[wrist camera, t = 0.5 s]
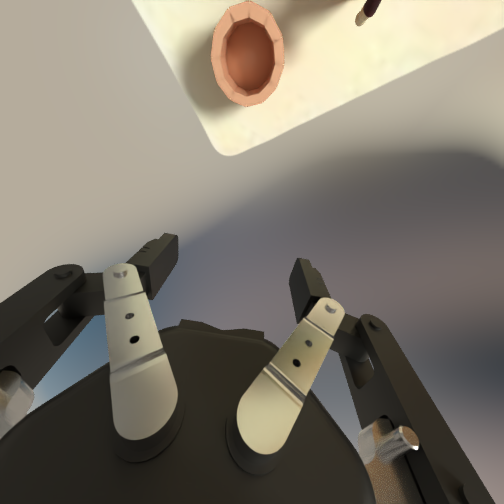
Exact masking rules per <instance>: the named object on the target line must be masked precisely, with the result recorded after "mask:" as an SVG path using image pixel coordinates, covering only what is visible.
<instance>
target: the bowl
mask: <svg viewBox="0 0 504 504" xmlns="http://www.w3.org/2000/svg"><path fill="white" fill-rule="evenodd" d="M269 12H270V11H268V10H267V9H265V8H263V7H261V6H259V5H258V4H256V3H254V2H252V1H250V2H249V1H246V2H243V3H240V4H237V5H234V6H231V7H229V9H227V10H226V12H225V13H224V15H223V16H222V18H221V20H220V21H219V23H218V24H217V26H216V27H215V31H214V34H213V42H212V50H211V57H212V58H211V62H212V66H213V70H214V74H215V78H216V82H218V83H217V84H218V85H219V86H220V88H221V89H222V90H223V92H224V93H225V94H226V96H227V97H228V98H229V100H230V98H231V101H233V102H235V103H238V104H240V105H243V106H245V107H246V106H247V107H248V106H252V105H257V104H261V103H262V101H263V102H264V101H265V100H266V99H267V98H268V97H269V96H270V95H271V94H272V93H273V92H274V91H275V89H276V87H277V86H278V83H279V80H280V77H281V74H282V71H283V67H284V65H283V64H284V47H283V38H281V37H282V36H283V35H282V34H281V32H280V30H279V28H278V26H277V24H276V22H275V20H274V18H273V16H272V14H271V13H270V14H269Z"/></svg>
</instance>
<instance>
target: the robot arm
mask: <svg viewBox="0 0 504 504" xmlns="http://www.w3.org/2000/svg"><path fill="white" fill-rule="evenodd" d="M177 261H178V236H177V235H173V234H168V233H164V234H163V235H162V236H161V237H160V238H159V239H154V240H151V241H149V242H147V243H146V244H145V245H144V246H143V248H141V249H140V250H139V251H138V252H137V253H136V254H135V255H134V256H133V257H131V258H130V259H129V260H128V261H127V262H126V263H121V264H116V265H112V266H110V267H108V268H107V269H106V270H105V271H104V272H103V273H84V270H83V268H82V267H81V266H79V265H75V264H67V265H61V266H57V267H54V268H52V269H49V270H48V271H46V272H45V273H43V274H42V275H40V276H39V277H38V278H36V279H35V280H33V281H32V282H30V283H29V284H27V285H26V286H24V287H23V288H22V289H20V290H19V291H17V292H16V293H14V294H13V295H12V296H10V297H9V298H7V299H6V300H5V301H3V302H1V303H0V504H495V502H494V500H493V499H492V497H491V496H490V494H489V492H488V491H487V489H486V487H485V486H484V484H483V482H482V481H481V479H480V478H479V476H478V474H477V473H476V471H475V469H474V468H473V466H472V464H471V463H470V461H469V459H468V458H467V456H466V455H465V453H464V451H463V450H462V448H461V447H460V445H459V443H458V441H457V440H456V438H455V437H454V435H453V434H452V432H451V430H450V429H449V427H448V425H447V423H446V422H445V420H444V419H443V417H442V415H441V414H440V412H439V410H438V409H437V407H436V405H435V404H434V402H433V401H432V399H431V397H430V396H429V394H428V392H427V391H426V389H425V388H424V386H423V384H422V382H421V381H420V379H419V378H418V376H417V374H416V373H415V371H414V370H413V368H412V366H411V364H410V363H409V361H408V360H407V358H406V356H405V355H404V353H403V352H402V350H401V348H400V346H399V345H398V343H397V341H396V340H395V338H394V337H393V335H392V333H391V332H390V330H389V328H388V327H387V326H386V324H385V323H384V322H383V321H381V320H380V319H379V318H377V317H375V316H373V315H370V314H364V315H362V316H361V317H360V319H358V318H355V317H353V316H351V315H348V314H346V313H345V312H344V309H343V307H342V306H341V305H340V304H339V303H338V302H336V301H335V300H333V299H331V297H330V294H329V292H328V290H327V288H326V285H325V283H324V281H323V279H322V276H321V274H320V273H319V272H318V271H317V270H316V269H315V268H312V266H311V263H310V261H309V260H307V259H302V258H297V260H296V262H295V264H294V267H293V270H292V272H291V275H290V278H289V286H290V291H291V296H292V301H293V306H294V311H295V316H296V321H297V324H299V325H298V326H297V328H296V329H295V330H294V331H293V333H292V334H291V335H290V337H289V338H288V339H287V341H286V342H285V343H284V344H283V346H282V347H281V348H280V349H279V348H278V347H277V346H276V345H275V344H273V343H272V342H270V341H268V340H266V339H264V332H262V331H256V330H249V329H234V330H220V329H217V328H215V327H213V326H210V325H208V324H205V323H203V322H198V321H190V320H184V319H181V321H180V324H179V326H172V327H168V328H164V329H162V330H159V331H158V330H157V327H156V324H155V321H154V318H153V315H152V312H151V308H150V305H149V302H148V299H149V300H153V299H154V297H155V296H156V294H157V293H158V291H159V290H160V288H161V287H162V285H163V283H164V282H165V281H166V279H167V277H168V276H169V274H170V273H171V271H172V270H173V268H174V267H175V265H176V263H177ZM56 309H58V311H57V312H56V313H55V314H54V315H52V316H51V318H50V319H48V320H47V321H46V322H45V320H46V318H47V317H48V316H49V315H50V314H51V313H52V312H53V311H54V310H56ZM95 315H105V320H106V331H107V341H108V351H109V362H108V363H106V364H105V365H103V366H102V367H100V368H99V369H97V370H95V371H94V372H93V373H91V374H89V375H88V376H86V377H84V378H83V379H81V380H80V381H78V382H77V383H75V384H74V385H72V386H70V387H69V388H67V389H66V390H64V391H63V392H61V393H60V394H58V395H56V396H55V397H53V398H52V399H50V400H49V401H47V402H45V403H44V404H42V405H41V406H40V407H38V408H36V409H35V410H33V411H32V412H30V413H29V414H27V411H28V410H29V408H30V407H31V405H32V403H33V400H34V392H33V389H34V388H35V387H36V385H37V384H38V383H39V382H40V381H41V379H42V378H43V377H44V376H45V374H46V373H47V372H48V371H49V370H50V369H51V367H52V366H53V365H54V364H55V363H56V361H57V360H58V359H59V358H60V357H61V355H62V354H63V353H64V352H65V351H66V349H67V348H68V347H69V346H70V345H71V343H72V342H73V341H74V340H75V338H76V337H77V336H78V335H79V334H80V332H81V331H82V330H83V329H84V328H85V326H86V325H87V324H88V323H89V322H90V320H91V319H92V318H93V317H94V316H95ZM44 322H45V323H44ZM329 349H331V350H333V351H336V352H338V353H339V356H340V359H341V363H342V366H343V369H344V373H345V376H346V379H347V382H348V386H349V389H350V392H351V395H352V399H353V402H354V405H355V408H356V412H357V415H358V418H359V421H360V425H361V428H362V431H361V432H360V433H359V436H358V446H359V454H358V452H357V451H356V449H355V448H354V446H353V445H352V443H351V442H350V441H349V439H348V438H347V437H346V435H345V434H344V433H343V431H342V430H341V429H340V427H339V426H338V425H337V424H336V422H335V421H334V419H333V418H332V417H331V415H330V414H329V413H328V411H327V410H326V409H325V407H324V406H323V405H322V404H321V402H320V401H319V399H318V398H317V397H316V395H315V394H314V393H313V391H312V390H311V389H310V387H311V385H312V383H313V381H314V379H315V377H316V375H317V373H318V371H319V369H320V366H321V365H322V363H323V360H324V358H325V356H326V354H327V352H328V350H329ZM369 357H370V359H371V362H372V364H373V367H374V370H373V368H372V365H371V363H370V361H369V359H368V358H369Z"/></svg>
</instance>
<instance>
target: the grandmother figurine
mask: <svg viewBox="0 0 504 504" xmlns="http://www.w3.org/2000/svg"><path fill="white" fill-rule="evenodd" d="M380 2H381V0H367V1H366V3H365V4H364V6H363V8H362V10H361V11H360V12H359V13H358V14H357V16H356V19H355V23H356V25H357V26H361V25H363V24H364V22H365V21H366V20H367V19H368V18H369V17H372V16H373V15H374V13H375V12H376V10H377V8H378V6H379V4H380Z"/></svg>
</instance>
